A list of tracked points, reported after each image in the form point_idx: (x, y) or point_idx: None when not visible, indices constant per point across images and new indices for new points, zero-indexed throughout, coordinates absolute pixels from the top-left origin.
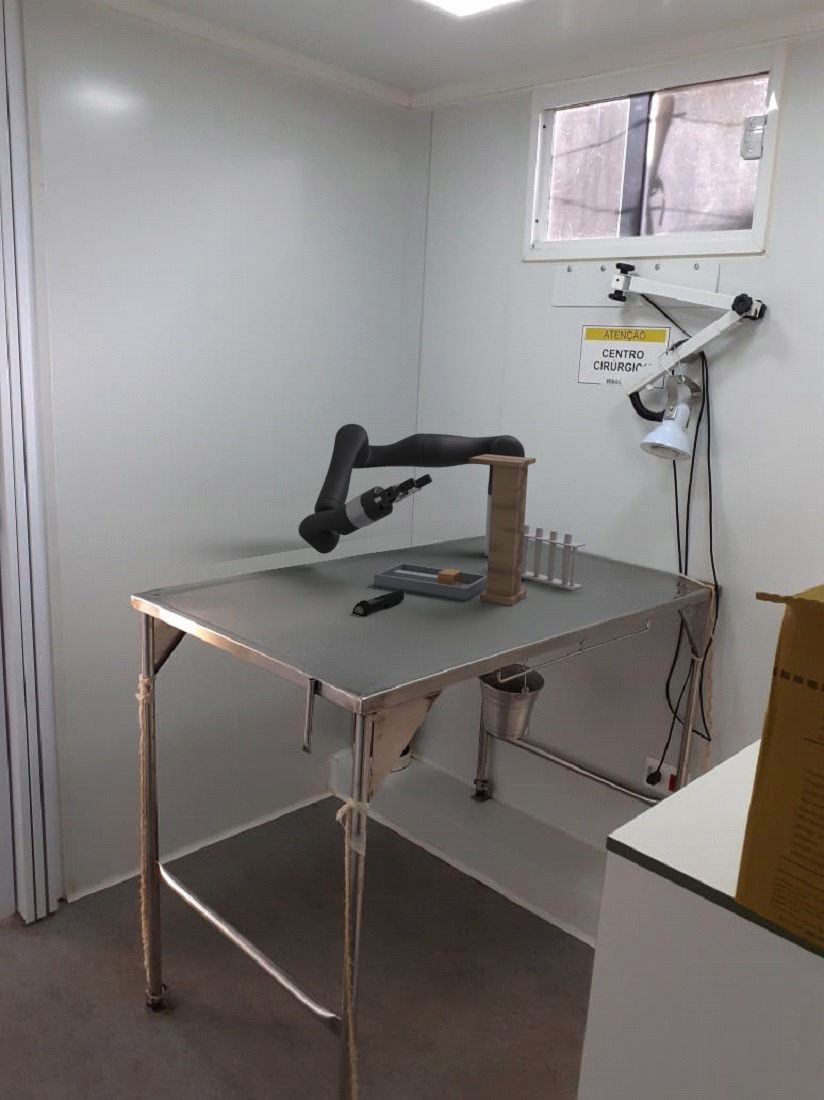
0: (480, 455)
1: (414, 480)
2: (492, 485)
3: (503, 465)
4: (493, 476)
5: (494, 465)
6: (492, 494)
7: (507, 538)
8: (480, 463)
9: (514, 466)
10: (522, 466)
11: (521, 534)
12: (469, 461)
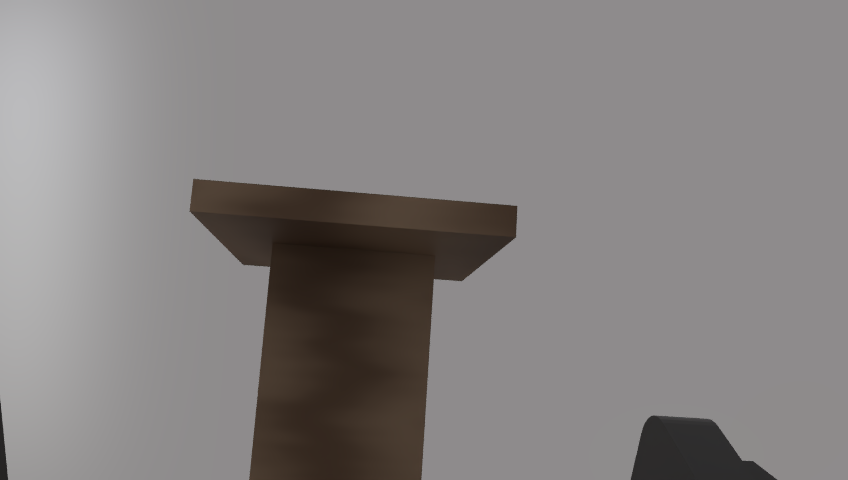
0: (302, 188)
1: (646, 456)
2: (426, 387)
3: (474, 269)
4: (429, 331)
5: (433, 266)
6: (422, 443)
7: None
8: (500, 249)
9: (465, 276)
10: (435, 278)
11: None
12: (515, 229)
